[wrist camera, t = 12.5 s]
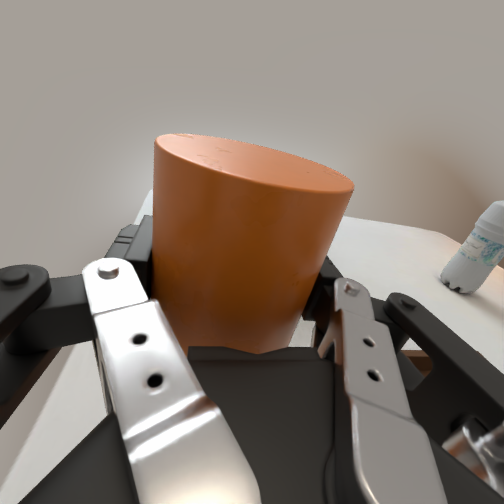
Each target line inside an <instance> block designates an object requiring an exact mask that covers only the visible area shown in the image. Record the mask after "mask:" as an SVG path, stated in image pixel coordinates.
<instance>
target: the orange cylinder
mask: <svg viewBox="0 0 504 504" xmlns="http://www.w3.org/2000/svg"><path fill="white" fill-rule="evenodd" d="M153 183H154V184H153V224H152V267H151V299H156V300H157V301H158V303H159V305H160V307H161V309H162V311H163V313H164V315H165V316H166V318H167V320H168V322H169V324H170V326H171V328H172V330H173V332H174V334H175V336H176V338H177V340H178V342H179V344H180V346H181V348H182V350H183V352H184V354H185V356H186V357H187V354H188V346H224V347H228V348H232V349H237V350H241V351H245V352H250V353H254V354H261V353H265V352H269V351H273V350H277V349H281V348H285V347H288V346H289V343H290V341H291V338H292V336H293V334H294V331H295V329H296V326H297V324H298V322H299V319H300V317H301V315H302V312H303V310H304V307H305V305H306V303H307V300H308V298H309V295H310V293H311V291H312V288H313V286H314V284H315V281H316V279H317V276H318V274H319V272H320V269H321V267H322V265H323V262H324V260H325V257H326V255H327V253H328V250H329V248H330V245H331V243H332V241H333V238H334V236H335V234H336V231H337V229H338V226H339V224H340V222H341V219H342V217H343V214H344V212H345V210H346V207H347V205H348V203H349V200H350V198H351V195H352V193H353V191H354V184H353V182H352V181H351V180H350V179H348V178H347V177H346V176H344V175H342V174H341V173H339V172H337V171H335V170H332V169H331V168H328V167H326V166H324V165H321V164H318V163H316V162H313V161H310V160H307V159H304V158H301V157H298V156H295V155H292V154H288V153H285V152H282V151H278V150H274V149H270V148H267V147H263V146H258V145H254V144H249V143H245V142H240V141H235V140H230V139H224V138H218V137H211V136H204V135H194V134H166V135H161V136H158V137H157V138H156V139H155V143H154V181H153Z"/></svg>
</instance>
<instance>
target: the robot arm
mask: <svg viewBox="0 0 504 504" xmlns="http://www.w3.org/2000/svg"><path fill="white" fill-rule="evenodd" d="M152 224H153V216H149V215H144V217H143V219H142V221H141V223H140V225H131V224H130V225H128V226H127V227H125V228H123V229H121V231H120V232H119V234H118V237H116V239H115V241H114V243H113V244H112V245H111V247H110V249H109V250H108V252H107V254H106V255H105V257H104V258H103V259H100V260H96V261H93V262H91V263H89V264H88V265H86V266H85V267H84V269H83V271H82V274H80V275H75V276H68V277H60V278H49V274H48V271H47V270H46V269H45V268H43V267H40V266H37V265H15V266H9V267H5V268H2V269H0V429H1V428H2V427H3V425H4V424H5V423H6V422H7V420H8V419H9V418H10V416H11V415H12V414H13V412H14V411H15V409H16V408H17V407H18V405H19V404H20V403H21V402H22V400H23V399H24V398H25V396H26V395H27V393H28V392H29V391H30V390H31V388H32V387H33V386H34V384H35V383H36V382H37V380H38V379H39V378H40V376H41V375H42V374H43V372H44V371H45V369H46V368H47V367H48V365H49V364H50V363H51V362H52V360H53V359H54V358H55V356H56V355H57V353H58V352H59V351H60V349H61V348H62V347H64V346H68V345H73V344H77V343H82V342H86V341H91V340H92V343H93V347H94V352H95V357H96V362H97V366H98V371H99V376H100V381H101V386H102V391H103V397H104V403H105V408H106V413H107V416H106V417H105V418H104V419H103V420H102V421H101V422H100V423H99V424H98V425H97V426H96V427H95V428H94V429H93V430H92V431H91V432H90V433H89V434H88V435H87V436H86V437H85V438H84V439H83V440H82V441H81V442H80V443H79V444H78V445H77V446H76V447H75V448H74V449H73V450H72V451H71V452H70V453H69V454H68V455H67V456H66V457H65V458H64V459H63V460H62V461H61V462H60V463H59V464H58V465H57V466H56V467H55V468H54V469H53V470H52V471H51V472H50V473H49V474H48V475H47V476H46V477H45V478H43V479H42V480H41V481H40V482H39V483H38V484H37V485H36V486H35V487H34V488H33V489H32V490H31V491H30V492H29V493H28V494H27V495H26V496H25V497H24V498H23V499H22V500H21V501H20V502H19V503H18V504H504V374H503V373H501V372H500V371H499V370H498V369H497V368H496V367H494V366H493V365H492V364H491V363H490V362H488V361H487V360H486V359H485V358H484V357H483V356H481V355H480V354H479V353H478V352H477V351H475V350H474V349H473V348H472V347H471V346H470V345H468V344H467V343H466V342H465V341H464V340H463V339H461V338H460V337H459V336H458V335H457V334H455V333H454V332H453V331H452V330H451V329H450V328H448V327H447V326H446V325H445V324H444V323H442V322H441V321H440V320H439V319H438V318H437V317H435V316H434V315H433V314H432V313H431V312H429V311H428V310H427V309H426V308H425V307H424V306H422V305H421V304H420V303H419V302H418V301H416V300H415V299H413V298H411V297H409V296H407V295H404V294H401V293H391V294H390V295H389V296H388V298H387V300H386V301H383V300H379V299H376V298H372V297H370V293H369V291H368V290H367V289H366V288H365V287H364V286H363V285H361V284H360V283H358V282H356V281H354V280H352V279H348V278H344V277H343V276H342V275H341V273H340V272H339V271H338V269H337V268H336V267H335V265H333V263H332V261H331V260H329V257H328V256H327V255H326V257H325V260H324V262H323V265H322V267H321V269H320V272H319V274H318V276H317V279H316V281H315V284H314V286H313V288H312V291H311V293H310V295H309V298H308V300H307V303H306V305H305V307H304V310H303V312H302V317H303V320H306V321H315V322H316V323H315V325H314V327H313V330H312V338H311V347H285V348H281V349H277V350H273V351H269V352H265V353H261V354H254V353H250V352H245V351H241V350H237V349H232V348H228V347H224V346H188V354H187V357H186V356H185V354H184V352H183V350H182V348H181V346H180V344H179V342H178V340H177V338H176V336H175V334H174V332H173V330H172V328H171V326H170V324H169V322H168V320H167V318H166V316H165V315H164V313H163V311H162V309H161V307H160V305H159V303H158V301H157V300H156V299H151V300H150V298H151V267H152ZM409 338H411V339H412V340H413V341H414V342H415V343H416V344H417V345H418V346H419V347H420V348H421V349H422V350H423V351H424V352H425V353H426V354H427V355H428V356H429V358H430V359H431V362H432V370H431V372H430V373H429V374H428V375H427V376H426V377H424V375H423V374H422V373H421V372H420V371H419V370H418V369H417V368H416V367H415V365H414V364H413V363H412V362H411V361H410V360H409V359H408V358H407V357H406V355H405V354H404V353H403V352H402V351H401V348H402V347H403V346H404V344H405V343H406V342H407V340H408V339H409Z"/></svg>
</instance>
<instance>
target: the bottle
mask: <svg viewBox="0 0 504 504" xmlns="http://www.w3.org/2000/svg"><path fill="white" fill-rule="evenodd" d="M503 257H504V201H495V202H493V203H492V204H491V206H490V207H489V208H488V209H487V210H486V211H485V212H484V213H483V214H482V215H481V216H480V217H479V220H478V222H476V223H475V229H474V230H473V231H472V232H471V234H470V235H469V237H468V238H467V239H466V241H465V242H464V243H463V245H462V246H461V248H460V249H459V250H458V252H457V253H456V254H455V256H454V257H453V258H452V259H451V260H450V261H449V262H448V264H447V265H446V266H445V267H444V269H443V271H442V273H441V280H442V282H443V283H444V284H447V283H448V282H450V286H449V287H450V288H451V289H454V288H456V287H460V290H459V292H460V293H473V292H475V291H476V290H477V289H478V288H479V287H480V286H481V285H482V284H483V282H484V281H485V280H486V278H487V277H488V275H489V274H490V273H491V271H492V270H493V269H494V267H495V266H496V265H497V264H498V263H499V261H500V260H501V259H502V258H503Z"/></svg>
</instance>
